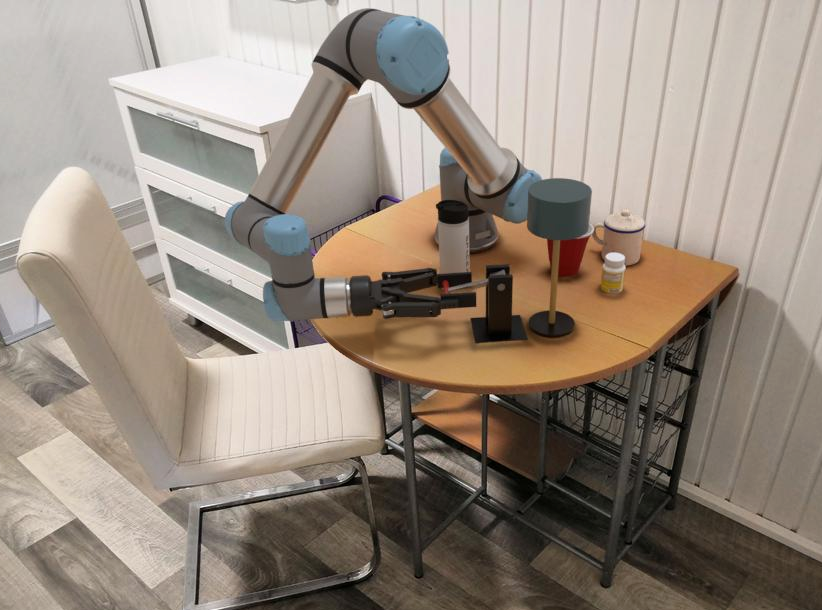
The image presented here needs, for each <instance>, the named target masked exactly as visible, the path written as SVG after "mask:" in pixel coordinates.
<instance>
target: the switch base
mask: <svg viewBox="0 0 822 610" xmlns="http://www.w3.org/2000/svg"><path fill="white" fill-rule="evenodd" d="M510 267H511V266H510V264H509V263H506V264H505V263H504V264H503V263H502V264H486V265H485V279H488V286H485V316H481V317H480V316H479V317H478V316H477V317H470V323H471V330H472V334H473V338H474V339H473V340H474V343H475V344H485V343H486V344H487V343H502V342H516V341H528V337H527V333H526V330H525V327H524V324H523V320H522V316H521V314H513V289H514V288H513V287H514V286H513V285H514V276H513V274H512V273H510V271H511V270H510V269H511V268H510ZM500 270H505V273H506V275H491V276H490V273H492V272H496V271H500Z"/></svg>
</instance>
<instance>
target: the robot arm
mask: <svg viewBox="0 0 822 610" xmlns="http://www.w3.org/2000/svg"><path fill="white" fill-rule="evenodd" d="M449 53H450V52H449V48H448V44H447V41H446V39H445V38H444V35H443V34H442V33H441V31H440V30H439V29H438V28H437V27H436V26H434V25H433V24H432V23H430V22H428V21H426V20H424V19H421V18H419V17H416V16H414V15H403V14H399V13H393V12H389V11H384V10H380V9H377V8H368V7H367V8H365V7H364V8H360V9H356V10H355V11H352V12H351V13H349V14H347V15H346V16H345V17H343V19H341V20H340V21H339V22H338V23H337V24H336V26H334V27H333V29H332V30H331V31H330V33H329V34H328V35H327V37H326V38H325V39H324V41H323V42H322V43H321V46H320V47H319V49H318V51H317V53H316V54H315V56H314V58H313V59H312V62H311V64H310V65H311V68H312V74H311V76H310V78H309V80H308V82H307V83H306V86H305V88H304V89H303V91H302V93H301V95H300V97H299V99H298V101H297V102H296V104H295V106H294V107H293V110H292V112H291V114H290V115H289V117H288V119H287V121H286V124H285V125H284V127H283V129H282V130H281V133H280V135H278V137H277V140H276V142H275V144H274V145H273V148H272V149H271V152H270V154H269V156H268V157H267V159H266V161H265V163H264V165H263V166H262V169H261V170H260V172H259V174H258V175H257V178H256V179H255V181H254V183H253V185H252V186H251V189H250V191H249V193H248V195H247V196H246V198H245V200H244V201H243V200H242V201H237V202H235V203H234V204H232V205H231V206H230V207H229V208H228V210H227V211H226V213H225V216H224V227H225V229H226V231H227V233H228V234H229V235H230V236H231V237H232V238H233V239H234V240H235V241H236V242H237V243H238V244H239V245H240V246H243V247H245V248H247V249H248V250H250V251H251V252H253V253H255V255H257V256H258V257H260V258H261V259H263V260H264V261H266V262H267V263H268V265H269V269H270V274H271V279H272V280H269V281H266V282H265V283H264V284H263V287H262V300H263V309H264V313H265V315H266V317H267V318H268V320H269V321H272V322H290V323H291V322H295V321H296V322H297V321H306V320H307V321H308V320H319V319H339V318H349V317H350V316H351V315H352V316H354V318H357V317H371V316H372V315H373V314H374V310H377V311H382V316H383V317H382V319H384V320H390V319H394V318H395V319H396V318H438V317H439V316H441V315H442V310H453V309H467V308H477V292H476V291H471V292H460V293H453V294H444V293H441V294H439V295H440V296H432V295H423V294H415V293H413V292H416V291H420V290H425V289H429V288H433V287H436V286H437V289H441V288H443V285H442V282H443V281H444V280H447V281H448V282H449V288H450V287H454V286H459V285H463V284H467V283H471V282H473V272H472V271H470V272H462V273H445V274H440V273H438V271H437V268H432V267H426V268H424V267H423V268H416V269H408V270H400V271H382V272H381V279H378V280H375V281H372V279H371V276H370V275H368V274H364V275H352V276H351V277H350V278H348V277H347V276H345V275H343V276H332V277H315V269H314V261H313V255H312V246H311V245H312V244H311V237H310V234H309V230H308V226H307V223H306V221H305V219H304V218H303V217H301V216H299V215H295V214H294V215H292V214H291V213H288V211H289V209H290V207H291V205H292V204H293V201H294V200H295V199H296V196H297V194H298V193H299V191H300V189H301V187H302V185H303V183H304V182H305V179H306V178H307V175H308V174H309V172H310V170H311V169H312V167H313V165H314V163H315V161H316V160H317V158H318V156H319V154H320V152H321V150H322V148H323V146H324V145H325V143H326V142H327V139H328V137H329V136H330V133H331V132H332V130H333V128H334V127H335V125H336V122H337V121H338V119H339V117H340V115H341V114H342V112H343V110H344V108H345V106H346V104H347V102H348V100H349V99H350V97H351V96H354V95H358V94H359V92H360V90H361V88H362V86H363V85H364V84H365V83H366V82H367V81H368V80H369V81H372V82H375V83H377V84H379V85H381V86H382V87H383V88H384V89H385V90H386V91H387V92H388V94H389V95H390V96H391V97H392V99H393V100H394V101H395V102H396V103H397V104H398V105H399V106H400V108H403V109H406V110H414V112H415V113H416V114H417V115H418V116H419V117H420V119H421V120H422V121H423V122H424V124H425V125H426V126H427V127H428V128H429V129H430V131H431V132H432V133H433V134H434V136H435V137H436V138H437V139H438V141H439V142H440V143H441V144H442V145H443V147H444V148H443V149H441V151H440V154H439V165H438V168H439V184H440V185H439V187H440V201H443V200H457V201H461V202H463V203H464V204H466V205H467V206H468V212H469V213H468V215H469V254H477V253H482V252H485V251H487V250H490V249H492V248H493V247H495V246H496V245H497V244H498V242H499V230H498V227H497V224H496V221H495V218H494V216H495V217H497V218H499V219H502V220H503V221H504V222H506V223H512V224H515V225H519V224H522V223H525V222H527V212H528V189H529V187H530V185H531V184H533V183H535V182H537V181H540V180H543V178H542V176H541V175H540V174H539V173H537V172H536V171H535V170H534V169H528V168H526V167H525V166H524V165H523V164H522V163H521V161H520V159H519V158H518V157H517V155H516V154H515V153H514V152H513V150H511V149H509V148H508V147H500V145H499V143H498V142H497V141H496V140H495V138H494V137H493V136H492V134H491V133H490V132H489V130H488V128H487V127H486V126H485V125H484V123H483V122H482V120H481V119H480V118H479V116H478V115H477V113H476V112H475V111H474V110H473V108H472V107H471V106H470V103H468V101H467V100H466V98H465V97H464V96H463V94H462V93H461V92H460V91H459V89H458V87H457V86H456V85H455V84H454V82H453V81H452V79H451V78H450V76H451V65H450V59H449V58H448V55H449ZM434 242H435V244H436V246H437V247H439V234H438V222H437V223H436V227H435V229H434Z"/></svg>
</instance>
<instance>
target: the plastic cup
mask: <svg viewBox="0 0 822 610" xmlns="http://www.w3.org/2000/svg"><path fill="white" fill-rule="evenodd" d="M593 226H594V224H592V223H590V222H589V229H588V231H587V233H586V234H584V235H583V236H581V237H578V238H575V239H570V240H560V250H559V266H558V277H563V278H570V277H574V276H576V275H578V274H579V273H580V272H579V271H580V269H581V264H582V262H583V258H584V256H585V250H586V248H587V245H588V242H589V239H590V237H591V236H592V233H593V231H594V227H593ZM546 243H547V244H546V245H547V252H548V254H547V255H548V262H549V267H550V273H551V274H552V257H553V240H550V239H546Z"/></svg>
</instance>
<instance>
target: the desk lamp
mask: <svg viewBox="0 0 822 610" xmlns="http://www.w3.org/2000/svg"><path fill="white" fill-rule="evenodd" d="M592 193H593V190H592V187H591V186H590V185H589V184H586V183H585V182H582V181H581V180H576V179H572V178H565V177H564V178H563V177H553V178H545V179H542V180H540V181H537V182H535V183H533V184H531V185H530V187H529V189H528V212H527V221H526V228H527V231H528V232H529V233H531V234H532V235H534V236H535V237H538V238H541V239H546V240H547V239H550V240H553V257H552V273H551V276H550V293H549V307H548V308H549V309H548V310H541V311H538V312H535V313H534V314H532V315H531V316H530V317H529V319H528V328H529V330H530V331H531V332H532V333H533V334H535V335H537V336H539V337H542V338H547V339H560V338H564V337H567V336H569V335H571V334H572V333H573V332H574V330H575V328H576V322H575V319H574V318H573V317H572V316H571V315H569V314H568V313H565V312H563V311H559V310H556V309H557V296H558V295H557V294H558V293H557V292H558V280H559V276H558V266H559V250H560V240H570V239H575V238H578V237H581V236H583V235H584V234H586V233H587V231H588V229H589V223H590V218H591V217H590V216H591V207H592V206H591V205H592Z"/></svg>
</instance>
